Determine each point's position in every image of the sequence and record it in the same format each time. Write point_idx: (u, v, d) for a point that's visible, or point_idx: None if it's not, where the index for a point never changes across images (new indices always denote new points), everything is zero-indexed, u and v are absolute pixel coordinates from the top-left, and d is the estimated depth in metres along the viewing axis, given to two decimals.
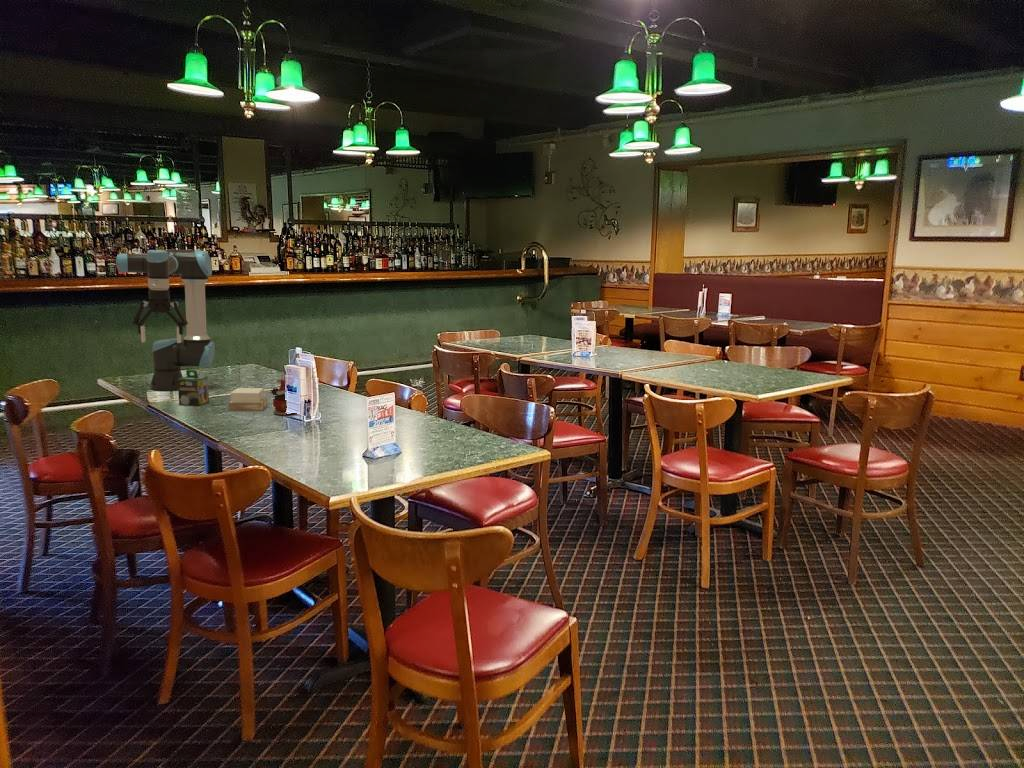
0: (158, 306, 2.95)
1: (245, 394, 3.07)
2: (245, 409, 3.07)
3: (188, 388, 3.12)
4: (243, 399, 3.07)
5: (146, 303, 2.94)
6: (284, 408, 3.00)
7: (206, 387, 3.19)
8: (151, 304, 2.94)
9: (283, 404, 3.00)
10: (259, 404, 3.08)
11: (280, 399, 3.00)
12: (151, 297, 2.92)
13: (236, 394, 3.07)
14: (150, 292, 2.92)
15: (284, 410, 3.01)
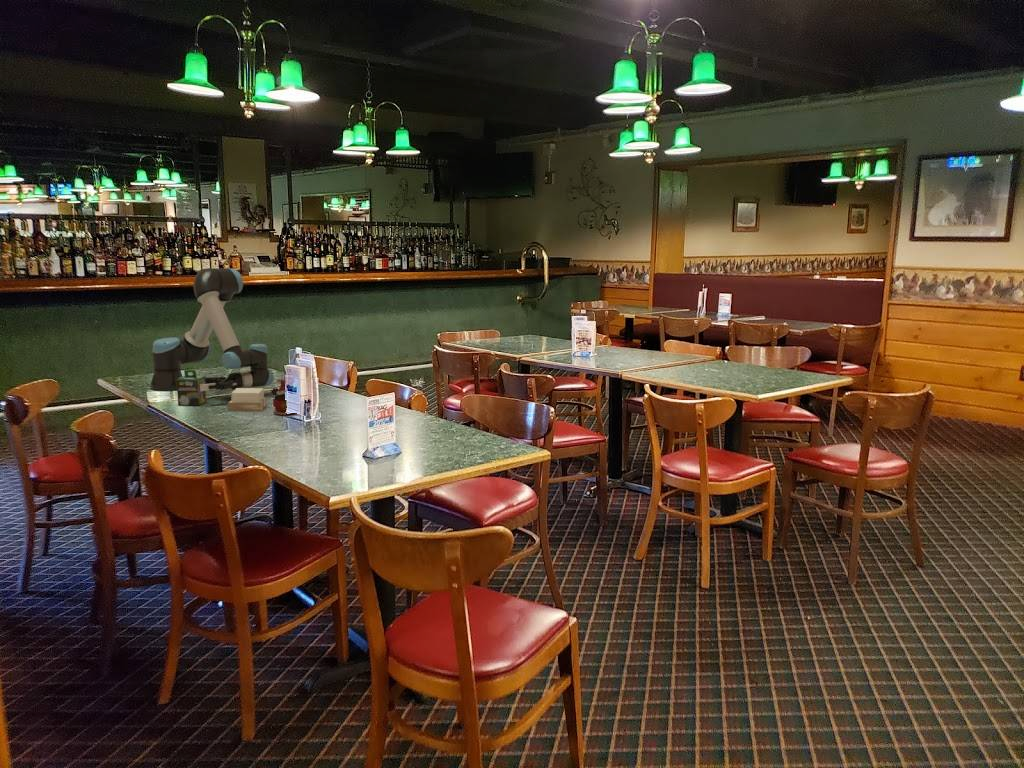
0: None
1: (246, 394, 3.07)
2: (245, 409, 3.07)
3: (188, 388, 3.12)
4: (244, 399, 3.07)
5: None
6: (284, 408, 3.00)
7: None
8: None
9: (283, 404, 3.00)
10: (259, 404, 3.07)
11: (280, 399, 3.00)
12: (235, 388, 3.29)
13: (237, 394, 3.06)
14: (239, 387, 3.30)
15: (284, 410, 3.01)
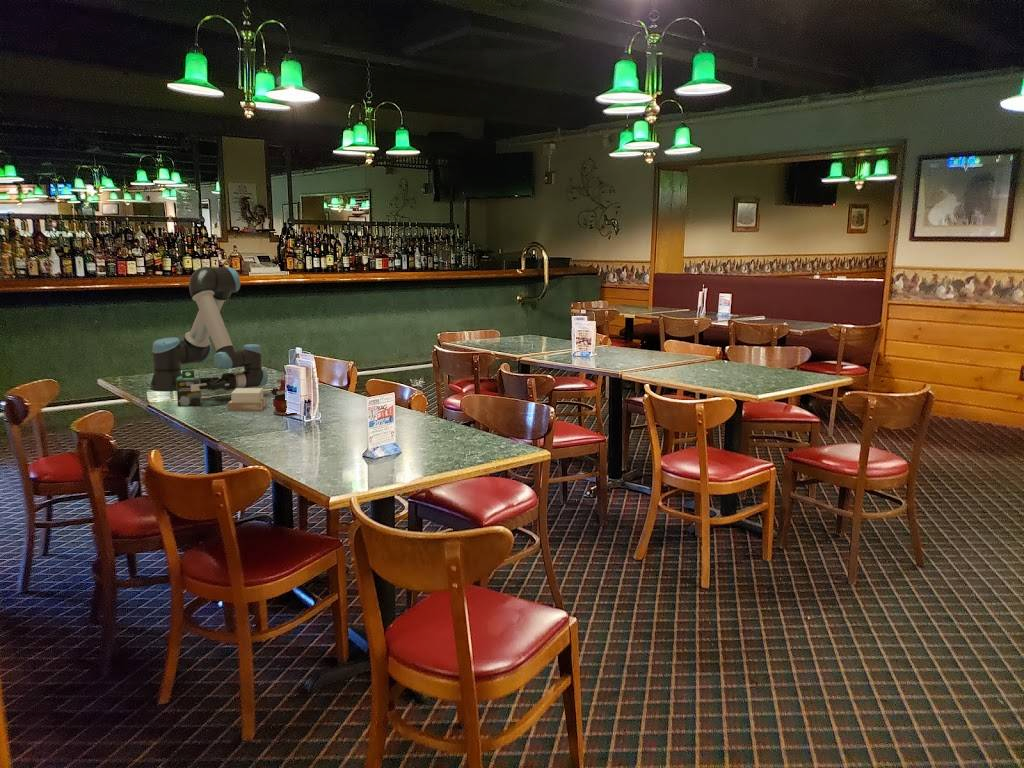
0: None
1: (246, 394, 3.07)
2: (244, 409, 3.07)
3: (189, 388, 3.11)
4: (244, 399, 3.07)
5: None
6: (284, 408, 3.00)
7: None
8: None
9: (283, 404, 3.00)
10: (258, 404, 3.07)
11: (280, 399, 3.00)
12: (228, 389, 3.27)
13: (237, 394, 3.06)
14: (233, 388, 3.28)
15: (284, 410, 3.01)
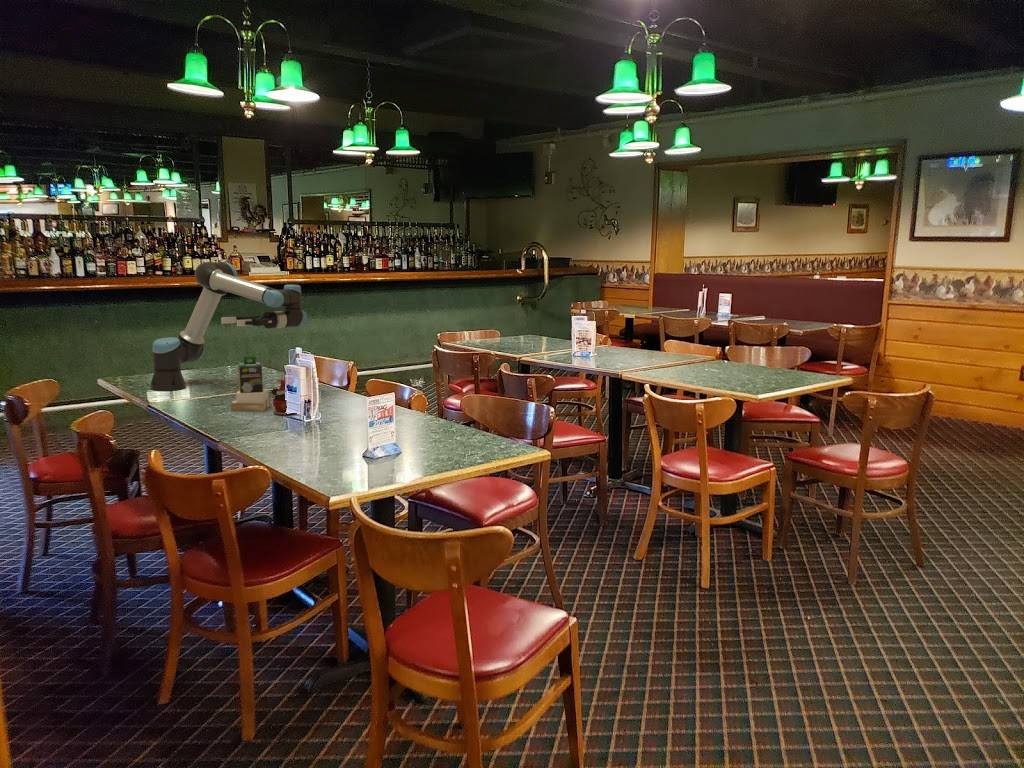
0: None
1: (250, 394, 3.07)
2: (247, 409, 3.07)
3: (251, 375, 3.07)
4: (249, 399, 3.07)
5: None
6: (284, 408, 3.00)
7: None
8: None
9: (283, 404, 3.00)
10: (261, 405, 3.07)
11: (280, 399, 3.00)
12: (270, 327, 3.31)
13: (241, 394, 3.06)
14: (274, 326, 3.33)
15: (284, 410, 3.01)
